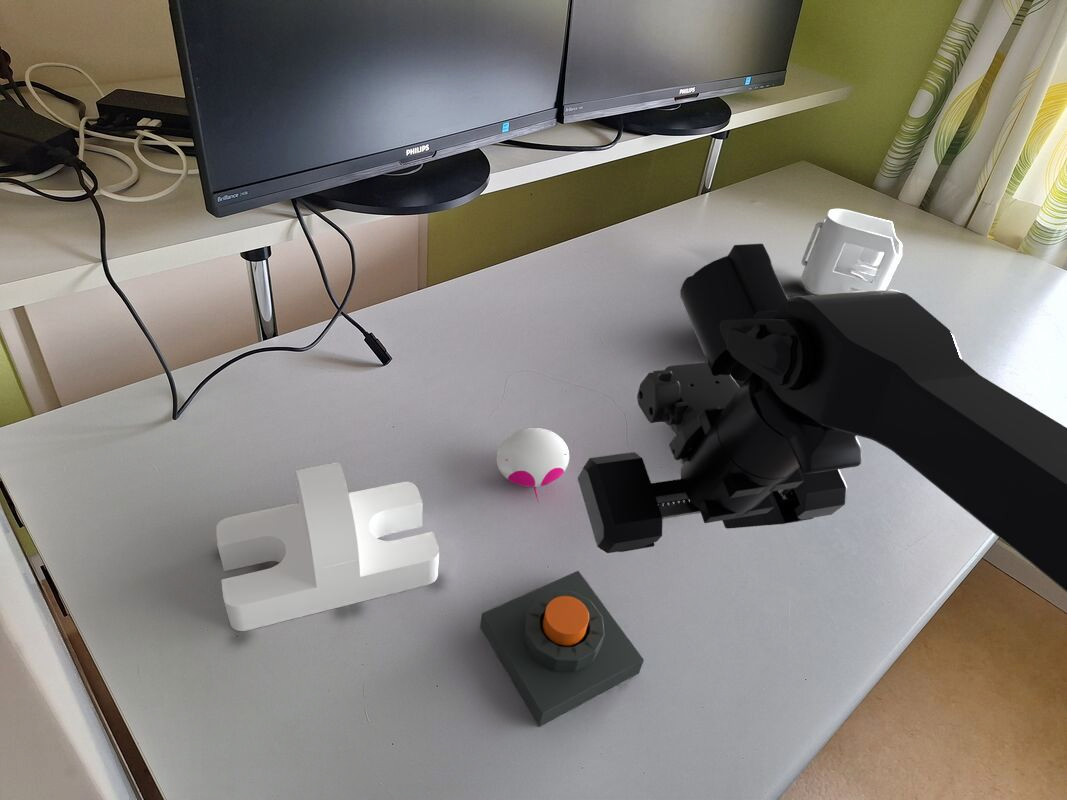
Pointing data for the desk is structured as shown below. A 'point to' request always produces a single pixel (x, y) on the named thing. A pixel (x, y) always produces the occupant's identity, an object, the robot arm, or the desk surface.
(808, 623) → the desk surface
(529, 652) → the button box
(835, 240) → the white plastic holder
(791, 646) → the desk surface
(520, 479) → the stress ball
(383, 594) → the white slotted mount
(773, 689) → the desk surface
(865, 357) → the robot arm
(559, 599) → the button
